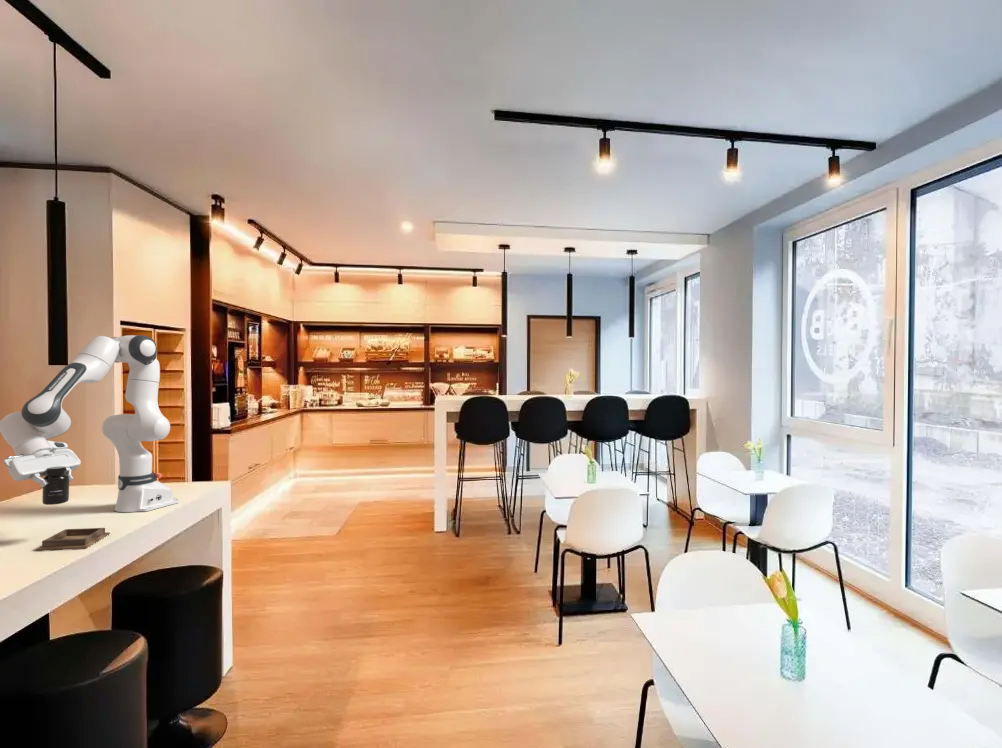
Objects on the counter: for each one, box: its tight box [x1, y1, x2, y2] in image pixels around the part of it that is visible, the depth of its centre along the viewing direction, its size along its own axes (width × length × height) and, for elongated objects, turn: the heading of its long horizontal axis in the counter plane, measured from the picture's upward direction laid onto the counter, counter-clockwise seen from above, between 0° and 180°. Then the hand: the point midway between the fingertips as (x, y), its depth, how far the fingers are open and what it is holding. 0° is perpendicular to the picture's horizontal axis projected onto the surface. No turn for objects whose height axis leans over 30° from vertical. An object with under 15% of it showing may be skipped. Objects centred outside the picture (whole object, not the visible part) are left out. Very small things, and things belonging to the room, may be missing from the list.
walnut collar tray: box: [35, 527, 111, 552], centre depth 171 cm, size 14×14×3 cm
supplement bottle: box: [41, 466, 70, 506], centre depth 173 cm, size 7×7×12 cm
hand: (58, 482), depth 173 cm, fingers closed on supplement bottle, 6 cm apart
